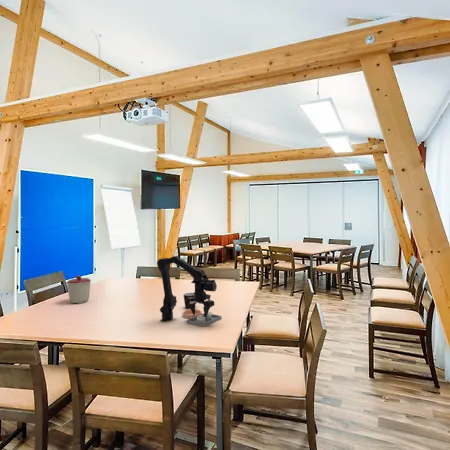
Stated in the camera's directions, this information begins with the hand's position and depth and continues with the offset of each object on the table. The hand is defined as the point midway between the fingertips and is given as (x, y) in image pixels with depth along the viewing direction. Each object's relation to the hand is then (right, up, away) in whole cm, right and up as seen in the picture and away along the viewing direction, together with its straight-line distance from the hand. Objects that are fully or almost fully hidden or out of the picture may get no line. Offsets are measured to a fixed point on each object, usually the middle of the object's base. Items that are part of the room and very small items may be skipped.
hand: (199, 315), depth 196 cm
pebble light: (0, -4, 0) cm, 4 cm away
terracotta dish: (-6, -5, +14) cm, 16 cm away
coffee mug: (-9, -5, +36) cm, 37 cm away
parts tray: (+3, -5, +3) cm, 6 cm away
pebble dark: (+5, -4, +7) cm, 9 cm away
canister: (-100, -6, +58) cm, 116 cm away
